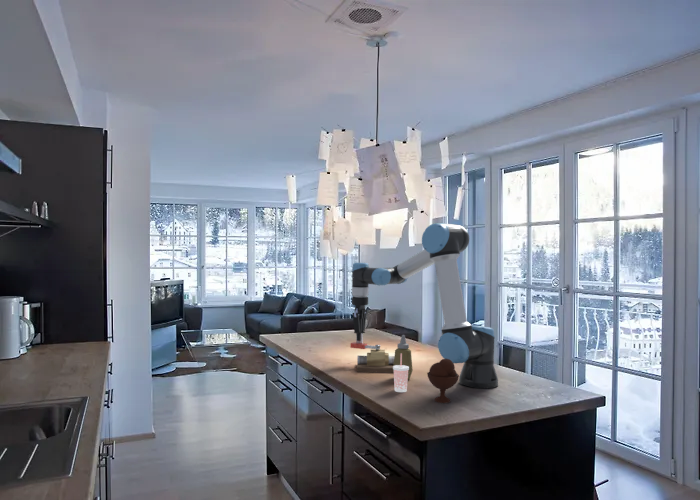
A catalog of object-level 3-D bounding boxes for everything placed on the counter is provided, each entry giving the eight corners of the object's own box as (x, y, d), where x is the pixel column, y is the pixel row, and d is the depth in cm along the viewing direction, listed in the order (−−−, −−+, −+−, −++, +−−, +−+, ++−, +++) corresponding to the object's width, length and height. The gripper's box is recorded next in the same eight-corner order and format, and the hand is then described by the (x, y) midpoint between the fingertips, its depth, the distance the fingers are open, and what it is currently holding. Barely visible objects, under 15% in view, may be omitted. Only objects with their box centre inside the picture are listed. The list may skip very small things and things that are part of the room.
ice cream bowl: (453, 396, 188) (454, 355, 188) (461, 405, 176) (462, 361, 176) (424, 396, 187) (425, 355, 187) (430, 405, 176) (431, 361, 176)
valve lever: (381, 349, 230) (381, 344, 230) (378, 351, 228) (378, 345, 228) (353, 346, 237) (353, 341, 237) (350, 347, 234) (350, 342, 234)
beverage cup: (408, 393, 191) (408, 355, 191) (391, 392, 192) (392, 354, 192) (409, 388, 197) (409, 352, 197) (393, 387, 198) (393, 351, 198)
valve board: (398, 372, 222) (398, 354, 222) (357, 371, 223) (357, 353, 223) (396, 365, 236) (397, 348, 236) (357, 364, 237) (357, 347, 237)
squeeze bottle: (396, 381, 207) (397, 337, 207) (390, 376, 215) (390, 333, 215) (415, 380, 209) (416, 336, 209) (408, 375, 217) (408, 333, 217)
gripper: (357, 294, 243) (356, 344, 244) (347, 297, 231) (346, 349, 232) (372, 295, 241) (371, 345, 241) (362, 298, 229) (362, 350, 229)
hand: (359, 347), depth 236 cm, fingers closed
